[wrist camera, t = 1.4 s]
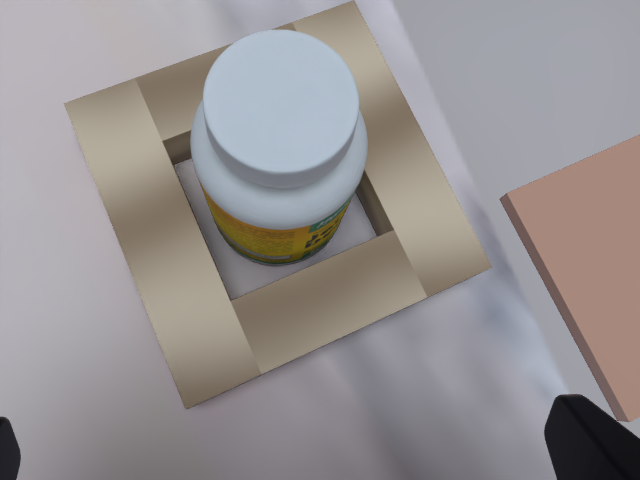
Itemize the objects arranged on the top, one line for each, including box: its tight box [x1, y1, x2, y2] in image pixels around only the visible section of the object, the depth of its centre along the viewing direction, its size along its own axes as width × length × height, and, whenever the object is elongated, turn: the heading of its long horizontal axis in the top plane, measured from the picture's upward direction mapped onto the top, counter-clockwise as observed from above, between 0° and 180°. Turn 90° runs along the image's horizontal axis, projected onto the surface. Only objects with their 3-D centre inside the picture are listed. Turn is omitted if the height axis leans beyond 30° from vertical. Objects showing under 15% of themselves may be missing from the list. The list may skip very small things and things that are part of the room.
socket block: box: [64, 0, 492, 409], centre depth 23 cm, size 12×12×2 cm
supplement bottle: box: [190, 30, 368, 266], centre depth 19 cm, size 5×5×10 cm
